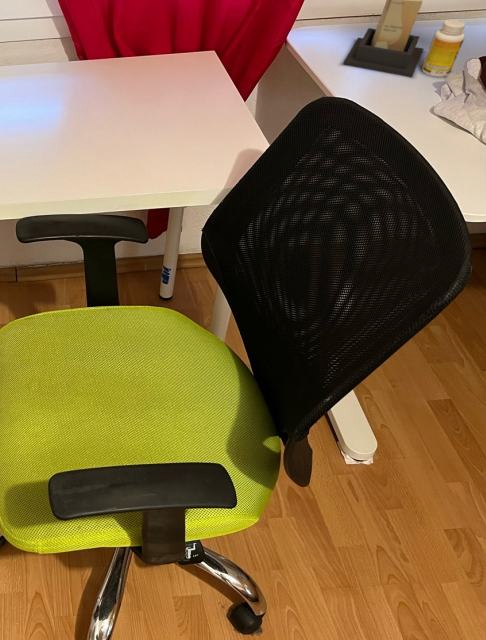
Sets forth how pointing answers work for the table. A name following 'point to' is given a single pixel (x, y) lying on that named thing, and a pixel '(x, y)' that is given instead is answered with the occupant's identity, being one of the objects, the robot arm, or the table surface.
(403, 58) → the dark grey box holder
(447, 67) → the supplement bottle
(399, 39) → the cosmetic box
